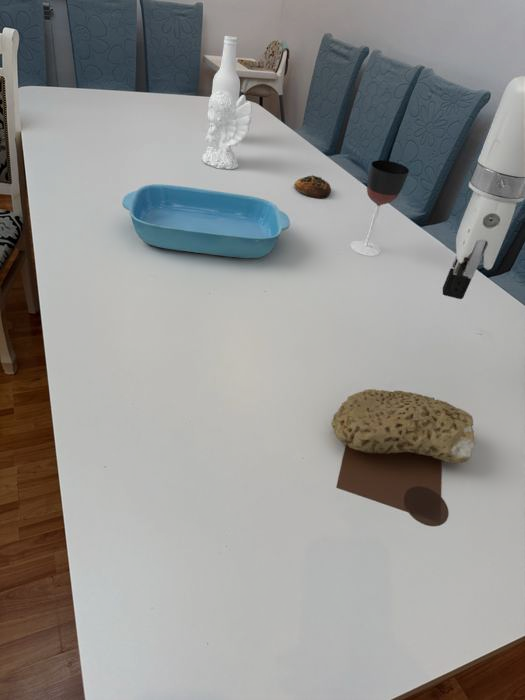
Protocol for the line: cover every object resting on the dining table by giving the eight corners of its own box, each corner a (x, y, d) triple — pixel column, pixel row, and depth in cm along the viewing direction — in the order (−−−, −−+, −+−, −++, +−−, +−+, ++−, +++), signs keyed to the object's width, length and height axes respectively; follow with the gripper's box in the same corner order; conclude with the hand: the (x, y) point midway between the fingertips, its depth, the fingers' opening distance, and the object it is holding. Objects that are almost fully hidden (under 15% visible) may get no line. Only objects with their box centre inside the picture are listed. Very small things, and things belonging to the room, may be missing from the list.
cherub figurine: (199, 152, 156) (204, 82, 144) (238, 155, 159) (246, 87, 147) (203, 168, 147) (209, 94, 134) (245, 171, 149) (254, 99, 137)
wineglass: (388, 253, 121) (416, 172, 109) (361, 258, 117) (387, 175, 105) (368, 238, 126) (392, 159, 114) (341, 242, 122) (363, 161, 110)
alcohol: (204, 138, 167) (211, 35, 148) (214, 132, 174) (222, 32, 155) (228, 144, 166) (239, 41, 147) (237, 138, 173) (249, 38, 154)
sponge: (451, 428, 80) (339, 376, 79) (482, 405, 74) (361, 348, 73) (445, 502, 71) (320, 444, 71) (479, 483, 65) (343, 419, 65)
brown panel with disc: (355, 399, 80) (355, 399, 80) (448, 428, 78) (448, 428, 78) (334, 493, 65) (335, 493, 65) (448, 532, 63) (448, 532, 63)
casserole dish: (281, 224, 125) (286, 197, 121) (288, 270, 108) (295, 241, 103) (131, 207, 120) (131, 178, 116) (115, 252, 103) (113, 220, 99)
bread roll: (321, 201, 140) (323, 183, 137) (286, 193, 144) (288, 176, 141) (337, 192, 148) (339, 175, 145) (304, 185, 152) (305, 169, 149)
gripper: (537, 207, 61) (478, 326, 72) (521, 170, 72) (473, 278, 84) (475, 193, 62) (427, 313, 74) (469, 159, 73) (429, 267, 85)
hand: (452, 294), depth 79 cm, fingers closed
